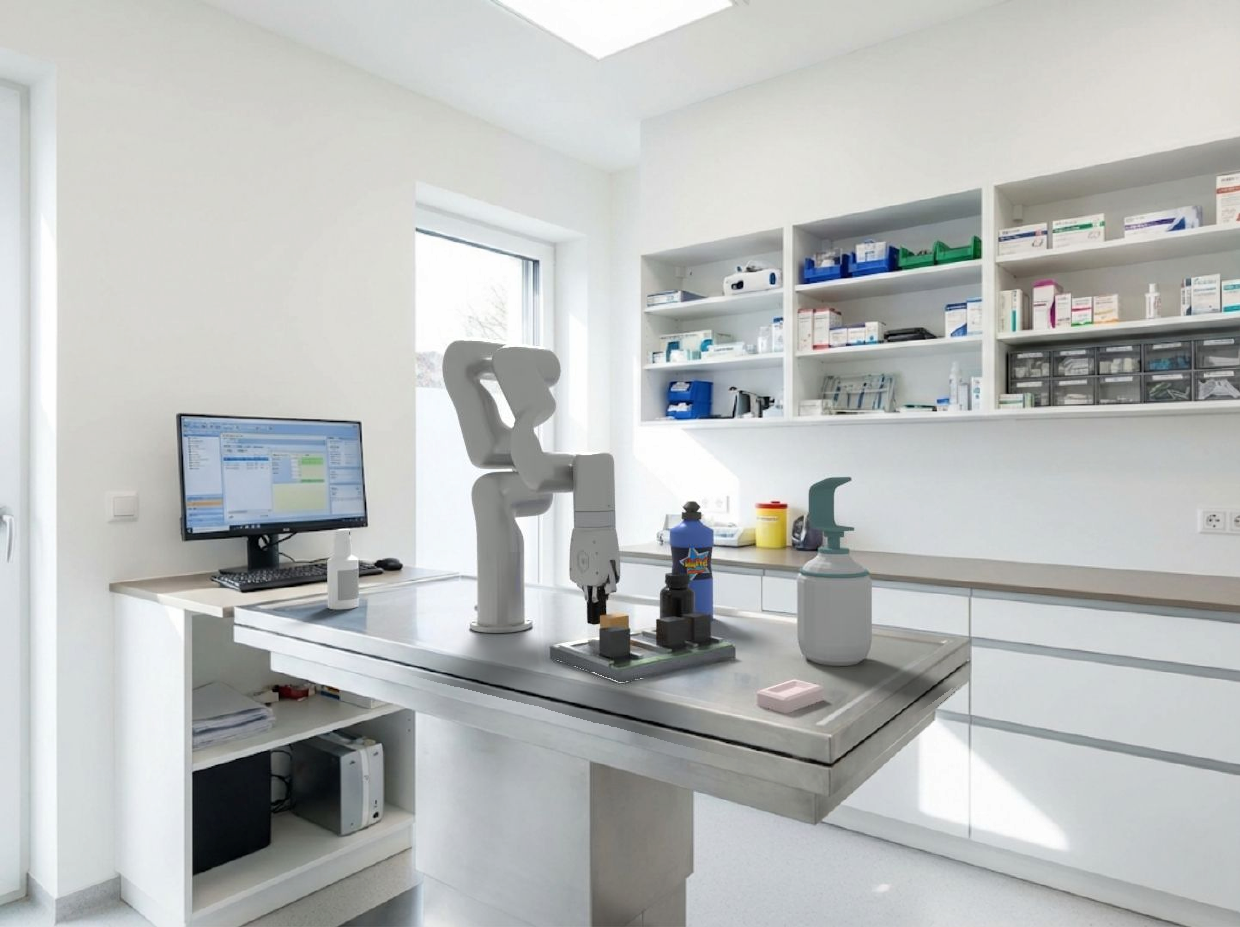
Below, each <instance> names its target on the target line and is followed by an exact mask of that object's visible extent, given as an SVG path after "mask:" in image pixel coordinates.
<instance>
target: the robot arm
mask: <svg viewBox="0 0 1240 927" xmlns="http://www.w3.org/2000/svg"><path fill="white" fill-rule="evenodd" d="M441 365H442V370H441V371H442V378H443V383H444V386H445V388H446V391H447V394H448V396H449V398H450V400H451V402H452V404H453V407H454V410H455V411H456V415H457V419H458V423H459V427H460V430H461V431H460V432H461V434H462V438H463V442H464V446H465V449H466V453H467V456H468V458H469V461H470V463H471V464H472V466H474V467H475V468H477V469H481V470H508V471H492V472H491V471H490V472H488V473H487V472H486V473H485V474H482V475H481V476H479V477H478V478H477V479H476V480H475V482H474V483H473V484H472V488H471V495H470V496H471V504H472V509H473V515H474V520H475V527H476V564H477V565H476V567H477V568H476V570H477V571H476V573H477V574H476V576H477V577H476V582H477V583H476V589H477V593H476V594H477V595H476V596H477V597H476V598H477V599H476V600H477V602H476V603H477V604H475V605H474V608H473V609H474V611H475V612H477V614H476V615H477V618H475V619H473V620H470V622H469V628H470V629H471V630H472V631H475V632H479V633H487V634H503V633H504V634H505V633H515V632H522V631H525V630H528V629H530V628H532V626H533V620H532V619H531V618H530V617H527V616H525V615H526V614H525V612H526V610H525V604H526V603H525V539H524V536H523V533H522V530H521V529H520V527H519V525H518V523H517V520H516V518H528V517H537V516H541V515H543V514H545V513H546V512H548V511H549V510H550V509H551V507H552V504H553V500H554V494H557V493H558V494H559V493H560V494H561V493H564V494H566V493H572V496H573V497H572V501H573V502H572V503H573V504H572V505H573V528H572V530H571V536H570V537H571V538H570V544H569V562H568V563H569V565H568V566H569V567H568V568H569V569H568V570H569V572H568V573H569V574H568V575H569V580H570V581H571V582H572V583H574V584H576V586H577V588H579V589H580V590H582V592H583V597H584V600H585V601H586V623H587V625H588V624H589V625H593V626H595V625H600V615H607V612H608V611H607V601H608V600H609V596H610V594H614V593H617V590H618V589H617V584H618V583H620V579H621V556H620V545H619V538H618V533H617V529H616V528H617V526H616V525H617V524H616V523H617V522H616V493H615V492H616V489H615V488H616V484H615V480H616V479H615V459H614V456H613V455H612V454H611V453H609V452H603V451H601V452H600V451H595V452H594V451H593V452H589V451H588V452H573V451H572V452H568V451H567V452H563V451H559V452H558V451H555V452H554V451H543V449H542V445H541V442H540V440H539V438H538V436H537V434H536V433H535V428H537V427H538V426H541V425H542V424H544V423H546V422H547V421H548V420H549V419H550V418H552V416H553V415H554V413H555V411H556V409H557V402H556V400H555V397H554V396H553V394H552V392H551V390H550V389H551V388H552V387H554V386H555V385H556V384H557V383H558V382H559V380H560V377H561V372H562V370H561V364H560V360H559V358H558V357H557V355H556V353H555V352H554V351H552V350H551V349H549V348H547V347H544V346H543V347H542V346H534V345H528V344H521V343H519V342H518V343H517V342H512V341H501V340H494V339H488V338H479V337H464V338H458V339H456V340H453V341H452V342H451V343H449V345H448V346H447V347H446V349H445V351H444V354H443V358H442V364H441ZM481 380H484V381H485V380H486V381H494V382H497V383H498V385H499V387H500V390H501V392H502V394H503V396H504V398H505V401H506V402H507V405H508V407H509V409H510V411H511V413H512V415H513V417H514V420H515V421H514V423H513V424H511V423H505V422H504V421H503V419H502V418H501V415H500V412H499V408H498V407H499V406H498V403H497V402H496V400H495V398H494V397H493V395H492V393H491V392H490V391H489V390H488V389H487V387H485V386H484V385H483V384H482V382H481Z"/></svg>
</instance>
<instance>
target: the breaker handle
mask: <svg viewBox="0 0 1240 927" xmlns="http://www.w3.org/2000/svg"><path fill="white" fill-rule="evenodd" d="M629 617H630V616H629V615H628V614H624V613H620V612H615V613H614V612H613V613H608V614H607V615H600V624H599V629H600V628H606V627H612V626H618V625H619V626H623V627H627V628H630V626H629V625H630V622H629V621H630V618H629Z"/></svg>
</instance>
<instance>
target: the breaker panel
mask: <svg viewBox="0 0 1240 927" xmlns="http://www.w3.org/2000/svg"><path fill="white" fill-rule="evenodd" d="M598 629H599V630H598V632H599V634H598V635H599V636H596V637H592V638H591V637H590V638H585V639H579V640H573V641H568V642H563V643H561V642H560V643H556V644H555V643H554V644H551V646H549V658H550V659H551V660H555V661H557V660H559V661H558V662H560V661H562V662H564V663H563V664H565V663H566V665H568V664H569V665H568V666H570V665H572V667H573V666H576V667H578V668H577V669H579V668H581V669H584V670H587V671H589V672H595V673H597V674H599V675H602V676H604V677H607V678H611V679H613V680H616V681H618V682H626V681H631V680H635V679H640V678H645V679H648V678H652V677H657V676H663V675H665V674H671V673H674V672H675V673H676V672H680V671H685V670H689V669H693V668H694V669H695V668H696V667H697V668H698V667H702V666H706V665H711V664H716V663H719V662H725V661H729V660H733V659H736V657H737V656H736V655H737V654H736V645H735V646H734V644H733V643H731V642H725V641H724V638H723V637H722V638H721V637H718V636H713V635H712V621H711V614H706V613H702V612H695V613H690V614H684V615H682V618H679V617H675V616H672V617H666V618H660V617H659V618H656V619H655V626H654V627H648V628H643V629H636V630H635V629H634V630H631V628H630V627H629V628H627V627H623V626H619V625H618V626H612V627H606V628H600V627H599V628H598ZM562 662H561V663H562ZM576 667H575V668H576ZM581 669H580V670H581ZM584 670H583V671H584ZM587 671H586V672H587ZM589 672H588V673H589ZM640 680H641V679H640ZM631 682H632V681H631Z"/></svg>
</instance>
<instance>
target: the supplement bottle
mask: <svg viewBox="0 0 1240 927" xmlns="http://www.w3.org/2000/svg"><path fill="white" fill-rule="evenodd" d="M664 575H665V576H664V577H665V578H664V584H665V586H664V587H663V588H662V589H661V590H660V592H659V619H660V618H666V617H672V616H675V617H679V618H682V615H684V614H690V613H695V592H694V590H693V589H692V588H690V587H689V584H690V574H688V573H672V572H667V573H665V574H664Z"/></svg>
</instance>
